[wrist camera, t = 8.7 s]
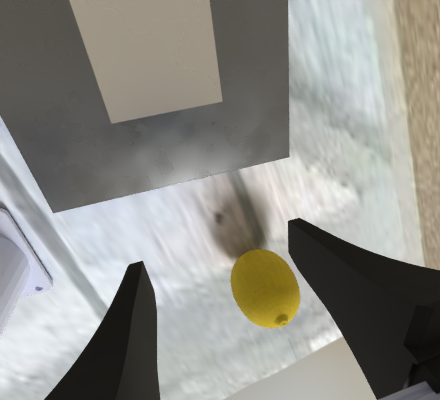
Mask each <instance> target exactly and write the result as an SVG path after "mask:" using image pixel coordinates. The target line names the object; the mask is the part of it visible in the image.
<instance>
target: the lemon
mask: <svg viewBox="0 0 440 400" xmlns="http://www.w3.org/2000/svg"><path fill="white" fill-rule="evenodd" d="M231 287H232V292H233V296H234V298H235V301H236V302H237V304H238V306H239V308H240V309H241V311H242V312H243V313H244V315H245V316H246V317H247V318H248V319H249V320H250V321H252V322H253V323H255V324H256V325H259V326H262V327H265V328H277V327H283V326H285V325H287V323H288V322H289V321H290V320H291V319H292V318H293V317H294V316H295V314H296V312H297V310H298V308H299V303H300V292H299V286H298V283H297V280H296V277H295V275H294V273H293V272H292V270H291V268H290V267H289V265H288V264H287V263H286V262H285V261H284V260H283V259H282V258H281V257H280V256H278V255H277V254H276V253H274V252H271V251H268V250H264V249H255V250H251V251H248V252H246V253H244V254H243V255H242V256H241V257H239V258H238V260H237V261H236V262H235V264H234V266H233V269H232V273H231Z"/></svg>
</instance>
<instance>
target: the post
mask: <svg viewBox="0 0 440 400" xmlns="http://www.w3.org/2000/svg"><path fill="white" fill-rule="evenodd" d="M69 1H70V4H71V7H72V10H73V12H74V15H75V18H76V21H77V24H78V27H79V30H80V33H81V36H82V39H83V42H84V45H85V48H86V50H87V53H88V56H89V59H90V62H91V65H92V68H93V71H94V74H95V77H96V80H97V83H98V86H99V89H100V91H101V94H102V97H103V100H104V103H105V106H106V109H107V112H108V115H109V118H110V121H111V124H112V123H118V122H123V121H128V120H133V119H138V118H143V117H148V116H153V115H158V114H163V113H168V112H173V111H178V110H183V109H188V108H193V107H198V106H203V105H208V104H213V103H218V102H223V101H222V94H221V86H220V78H219V70H218V62H217V55H216V47H215V39H214V31H213V24H212V16H211V8H210V0H69Z"/></svg>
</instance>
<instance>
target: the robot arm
mask: <svg viewBox="0 0 440 400" xmlns="http://www.w3.org/2000/svg"><path fill="white" fill-rule="evenodd" d="M288 251H289V254H290V256H291V258H292V260H293V262H294V263H295V265H296V267H297V269H298V270H299V272H300V273H301V274H302V276H303V277H304V278H305V280H306V281H307V283H308V284H309V285H310V287H311V288H312V289H313V291H314V292H315V293H316V295H317V296H318V297H319V299H320V300H321V301H322V303H323V304H324V305H325V307H326V308H327V310H328V311H329V313H330V314H331V316H332V318H333V319H334V321H335V323H336V324H337V326H338V328H339V329H340V331H341V333H342V335H343V336H344V338H345V340H346V342H347V344H348V345H349V347H350V349H351V350H352V352H353V354H354V356H355V358H356V360H357V362H358V364H359V365H360V367H361V369H362V371H363V373H364V375H365V377H366V379H367V381H368V383H369V385H370V387H371V389H372V391H373V393H374V395H375V397H376V399H377V400H440V270H435V269H430V268H426V267H421V266H417V265H413V264H409V263H405V262H401V261H398V260H394V259H391V258H388V257H385V256H382V255H379V254H376V253H373V252H370V251H368V250H365V249H363V248H360V247H358V246H355V245H353V244H351V243H348V242H346V241H344V240H342V239H340V238H338V237H336V236H334V235H332V234H330V233H328V232H326V231H324V230H322V229H320V228H318V227H316V226H314V225H312V224H310V223H309V222H307V221H305V220H303V219H301V218H297V219H294V220H290V221H288ZM38 286H41V287H38ZM52 287H53V281H52V280H51V278H50V277H49V275H48V274H47V272H46V270H45V269H44V267H43V266H42V264H41V263H40V261H39V260H38V258H37V256H36V255H35V253H34V252H33V250H32V249H31V247H30V246H29V244H28V242H27V241H26V239H25V238H24V236H23V235H22V233H21V232H20V230H19V228H18V227H17V225H16V224H15V222H14V221H13V219H12V218H11V216H10V214H9V213H8V212H7V211H6V210H5V209H2V208H0V338H1V336H2V333H3V331H4V329H5V327H6V325H7V323H8V321H9V319H10V317H11V315H12V313H13V311H14V309H15V306H16V304H17V302H18V300H19V298H23V297H27V296H30V295H34V294H37V293H41V292H45V291H48V290H51V289H52ZM44 400H160V392H159V382H158V372H157V309H156V300H155V293H154V289H153V287H152V284H151V281H150V279H149V276H148V273H147V271H146V268H145V266H144V263H143V261H140V262H137V263H133V264H129V266H128V267H127V270H126V272H125V275H124V277H123V280H122V282H121V284H120V287H119V289H118V291H117V293H116V295H115V297H114V299H113V302H112V304H111V306H110V307H109V309H108V311H107V313H106V315H105V317H104V319H103V320H102V322H101V324H100V326H99V327H98V329H97V331H96V332H95V334H94V335H93V337H92V338H91V340H90V342H89V343H88V345H87V346H86V348H85V349H84V350H83V352H82V353H81V355H80V356H79V357H78V359H77V360H76V362H75V363H74V364H73V366H72V367H71V368H70V369H69V371H68V372H67V373H66V374H65V376H64V377H63V378H62V379H61V380H60V382H59V383H58V384H57V385H56V387H55V388H54V389H53V390H52V391H51V392H50V394H49V395H48V396H47V397H46V398H45V399H44Z"/></svg>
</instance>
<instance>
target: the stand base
mask: <svg viewBox="0 0 440 400" xmlns="http://www.w3.org/2000/svg"><path fill="white" fill-rule="evenodd" d="M210 8H211V16H212V24H213V31H214V39H215V47H216V55H217V62H218V70H219V78H220V86H221V94H222V101H223V102H218V103H213V104H208V105H203V106H198V107H193V108H188V109H183V110H178V111H173V112H168V113H163V114H158V115H153V116H148V117H143V118H138V119H133V120H128V121H123V122H118V123H112V124H111V121H110V118H109V115H108V112H107V109H106V106H105V103H104V100H103V97H102V94H101V91H100V89H99V86H98V83H97V80H96V77H95V74H94V71H93V68H92V65H91V62H90V59H89V56H88V53H87V50H86V48H85V45H84V42H83V39H82V36H81V33H80V30H79V27H78V24H77V21H76V18H75V15H74V12H73V10H72V7H71V4H70V1H69V0H0V116H1V118H2V119H3V121H4V123H5V125H6V127H7V129H8V130H9V132H10V134H11V136H12V138H13V140H14V142H15V143H16V145H17V147H18V149H19V151H20V153H21V154H22V156H23V158H24V160H25V162H26V164H27V166H28V167H29V169H30V171H31V173H32V175H33V177H34V178H35V180H36V182H37V184H38V186H39V188H40V190H41V191H42V193H43V195H44V197H45V199H46V201H47V202H48V204H49V206H50V208H51V210H52V212H53V213H56V212H61V211H65V210H69V209H73V208H77V207H82V206H86V205H90V204H94V203H98V202H103V201H107V200H111V199H115V198H119V197H124V196H128V195H132V194H136V193H140V192H145V191H149V190H153V189H157V188H161V187H166V186H170V185H174V184H178V183H182V182H187V181H191V180H195V179H199V178H204V177H208V176H212V175H216V174H220V173H225V172H229V171H233V170H237V169H241V168H246V167H250V166H254V165H258V164H262V163H267V162H271V161H275V160H279V159H283V158H288V157H289V57H288V0H210Z"/></svg>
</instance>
